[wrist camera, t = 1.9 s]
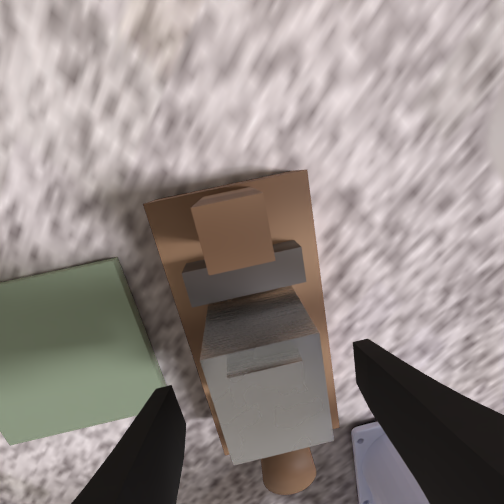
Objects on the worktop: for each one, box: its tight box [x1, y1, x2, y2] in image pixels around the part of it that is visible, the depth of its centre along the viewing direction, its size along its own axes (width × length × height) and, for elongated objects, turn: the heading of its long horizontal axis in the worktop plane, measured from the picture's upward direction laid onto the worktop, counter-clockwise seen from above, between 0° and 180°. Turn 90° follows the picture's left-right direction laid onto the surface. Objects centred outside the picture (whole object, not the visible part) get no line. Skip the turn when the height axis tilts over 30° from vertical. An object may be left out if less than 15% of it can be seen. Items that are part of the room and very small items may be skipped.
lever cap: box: [200, 286, 334, 466], centre depth 11 cm, size 5×4×5 cm
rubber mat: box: [0, 258, 166, 445], centre depth 15 cm, size 10×10×1 cm
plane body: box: [143, 170, 340, 495], centre depth 12 cm, size 15×7×6 cm, turn 11°
